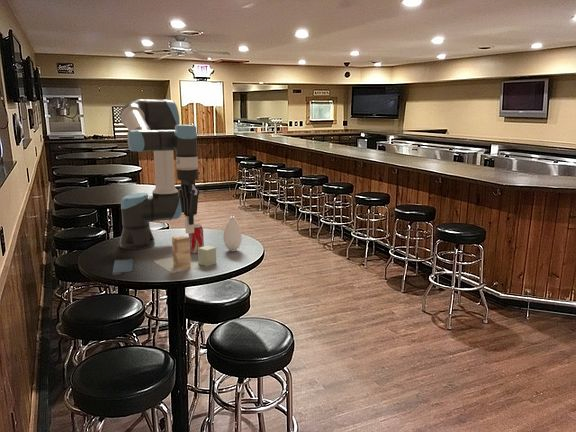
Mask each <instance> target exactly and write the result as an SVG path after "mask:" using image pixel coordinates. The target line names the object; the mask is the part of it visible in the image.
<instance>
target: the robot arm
mask: <svg viewBox="0 0 576 432" xmlns="http://www.w3.org/2000/svg"><path fill="white" fill-rule="evenodd" d="M179 113H180V112H179V109H178V106H177V104H176V102H175V101H174V100H172V99H171V100H170V99H143V98H141V99H139V98H138V99H133V100H131V101H129V102H127V103H126V104H124V106H123V107H122V108H121V110H120V114H119V117H120V120H121V122H122V123H121V124H123V126H124V127H126V128H127V131H128V132H127V145H128V146H127V147H128V149H129V151H131V152H138V153H140V152H141V153H142V152H153V161H154V162H153V163H154V181H155V183H154V184H155V187H154V189H153V190H152V192H151V193H152V195H149V194H148V193H147V192H137V193H131V194H128V195H126V196H123V197H122V198H121V200H120V209H121V222H122V223H121V225H122V231H121V235H120V239H119V247H120V248H121V249H125V250H142V249H146V248H151V247H153V246H155V238H154V237H155V236H154V235H153V232H152V229H151V227H150V226H151V225H150V224H151V223H150V222H158V221H159V222H160V221H172V220H177V219H179V218H181V216H182V214H183V215H184V222H185V223H184V224H185V234H188V235H189V233H194V225H195V220H194V218H195V217H194V216H196V215H197V214H198V204H199V195H200V189H198V188H196V180H197V181H198V179H199V170H198V167H199V158H198V133H197V127H196V125H195V124H180V114H179ZM174 151H175V156H174ZM174 157H175V161H174ZM175 164H176V168H177V169H176V178H175ZM175 179H177V180H178V181H180V186H179V185H178V186H177V188H176V182H175Z"/></svg>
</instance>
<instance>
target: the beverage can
mask: <svg viewBox="0 0 576 432" xmlns="http://www.w3.org/2000/svg"><path fill="white" fill-rule="evenodd" d="M188 237H189V238H190V254H195V255H196V254H197V255H198V248H200V247H203V246H205V245H204V244H205V242H204V228H203V226H202V224H194V233H189V234H188Z"/></svg>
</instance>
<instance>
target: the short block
mask: <svg viewBox="0 0 576 432" xmlns="http://www.w3.org/2000/svg"><path fill="white" fill-rule="evenodd" d="M197 260H198V262H197V265H199V266H201V265H202V266H205V267H210V266H213V265H216V264H217V247H215V246H212V245H208V244H207V245H204V246H203V247H200V248H198V254H197Z"/></svg>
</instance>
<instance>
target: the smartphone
mask: <svg viewBox="0 0 576 432" xmlns="http://www.w3.org/2000/svg"><path fill="white" fill-rule="evenodd" d="M134 261H135V260H134V259H133V258H125V259H115V260H114V261H113V266H112V272H111V274H112V275H113V276H117V275H126V274H127V273H128V274H129V273H133V272H134V267H135V266H134V265H135V262H134Z"/></svg>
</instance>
